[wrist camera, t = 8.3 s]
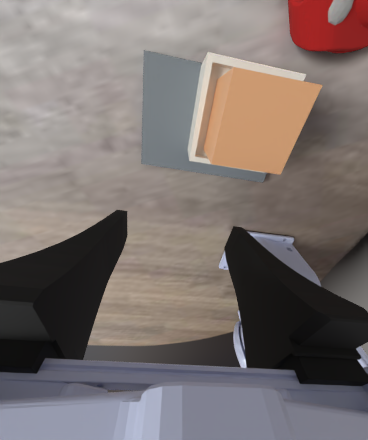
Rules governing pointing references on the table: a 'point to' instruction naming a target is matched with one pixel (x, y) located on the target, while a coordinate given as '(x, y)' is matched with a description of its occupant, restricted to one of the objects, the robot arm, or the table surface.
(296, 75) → the cream base block
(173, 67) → the baseplate
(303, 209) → the table surface
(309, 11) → the tracker holder
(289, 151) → the orange block
